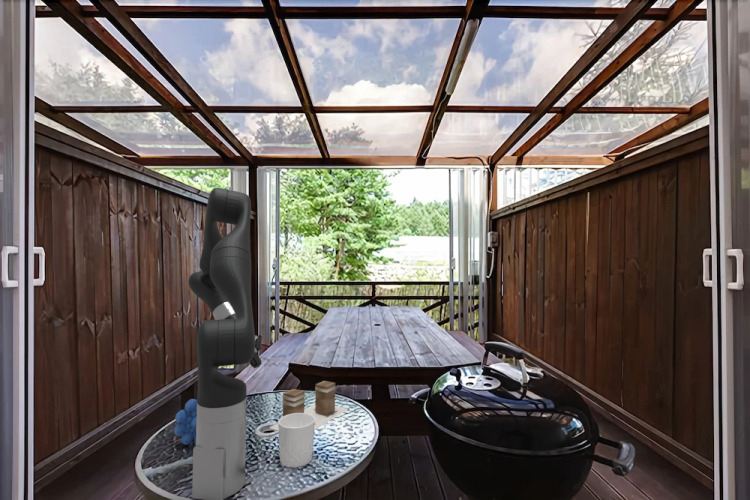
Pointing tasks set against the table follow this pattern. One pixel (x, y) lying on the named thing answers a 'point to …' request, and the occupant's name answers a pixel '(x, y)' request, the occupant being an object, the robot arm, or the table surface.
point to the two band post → (293, 402)
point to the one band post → (325, 397)
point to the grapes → (187, 422)
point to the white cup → (296, 439)
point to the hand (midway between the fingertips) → (258, 366)
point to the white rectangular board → (318, 416)
